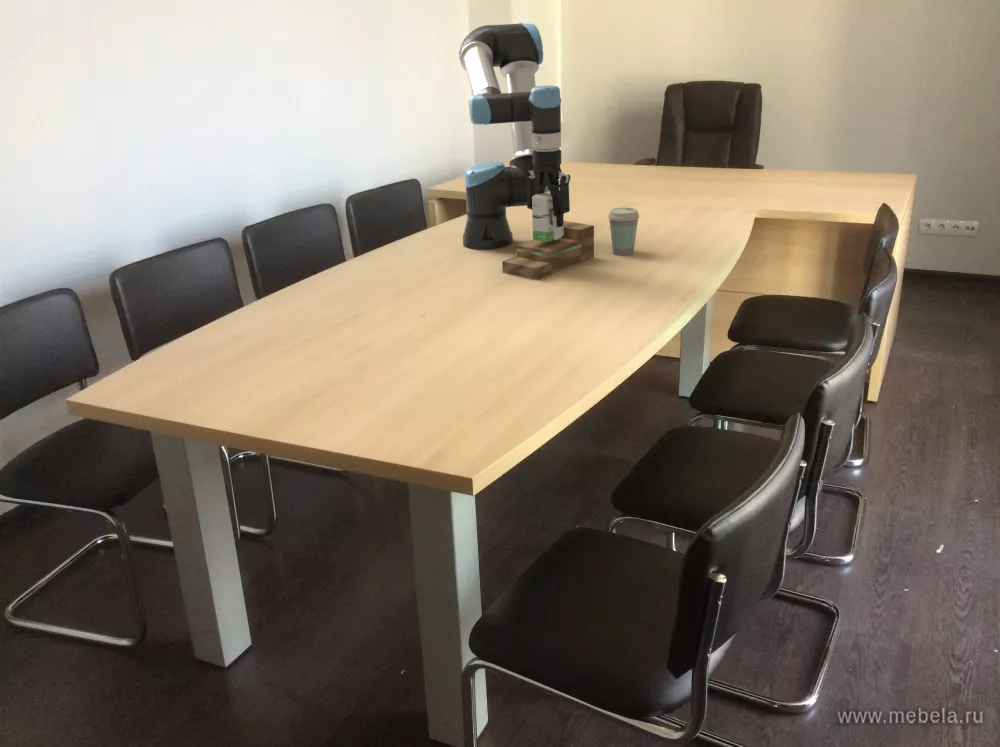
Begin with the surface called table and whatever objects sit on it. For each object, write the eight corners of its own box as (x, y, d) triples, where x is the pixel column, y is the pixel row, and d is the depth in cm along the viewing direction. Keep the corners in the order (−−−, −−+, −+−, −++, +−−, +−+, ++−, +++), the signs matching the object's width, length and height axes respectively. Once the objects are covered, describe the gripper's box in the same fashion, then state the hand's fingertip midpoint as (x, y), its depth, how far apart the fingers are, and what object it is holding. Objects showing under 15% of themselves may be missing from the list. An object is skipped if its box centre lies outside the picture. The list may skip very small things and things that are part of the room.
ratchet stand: (502, 272, 226) (500, 239, 222) (559, 251, 242) (559, 220, 239) (537, 279, 218) (536, 245, 214) (594, 257, 235) (594, 225, 231)
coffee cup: (637, 256, 233) (638, 213, 229) (606, 256, 235) (607, 213, 230) (639, 248, 241) (640, 207, 236) (609, 248, 243) (609, 207, 238)
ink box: (547, 242, 223) (546, 198, 218) (531, 240, 226) (530, 196, 221) (564, 235, 229) (564, 191, 224) (549, 233, 232) (548, 190, 227)
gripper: (510, 148, 221) (513, 235, 230) (566, 153, 210) (567, 244, 219) (529, 144, 226) (531, 229, 235) (583, 149, 215) (584, 238, 224)
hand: (548, 236), depth 227 cm, fingers closed on ink box, 5 cm apart
